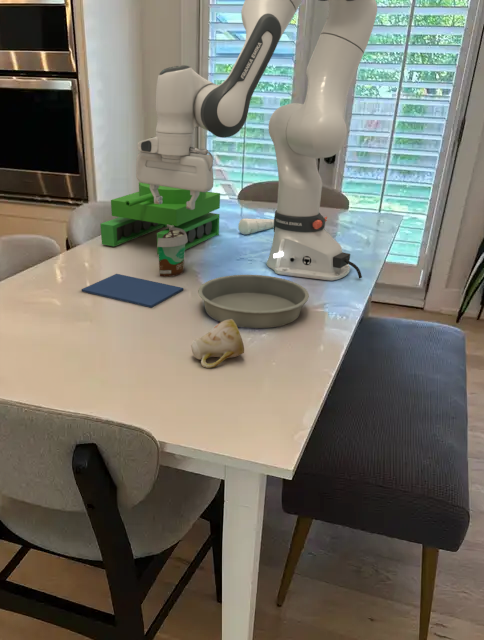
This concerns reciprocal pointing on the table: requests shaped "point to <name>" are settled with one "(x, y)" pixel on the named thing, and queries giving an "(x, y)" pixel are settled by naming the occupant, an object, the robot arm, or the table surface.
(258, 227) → the unicorn horn
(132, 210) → the tank
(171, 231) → the food container
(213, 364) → the mug
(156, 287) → the mat
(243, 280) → the cake pan
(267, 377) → the table surface
